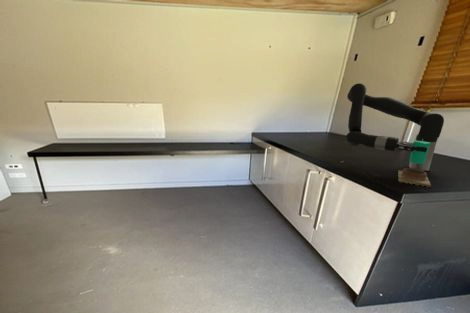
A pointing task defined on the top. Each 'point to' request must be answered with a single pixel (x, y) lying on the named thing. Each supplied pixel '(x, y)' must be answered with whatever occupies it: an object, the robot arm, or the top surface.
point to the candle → (419, 152)
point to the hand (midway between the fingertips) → (427, 149)
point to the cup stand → (414, 177)
